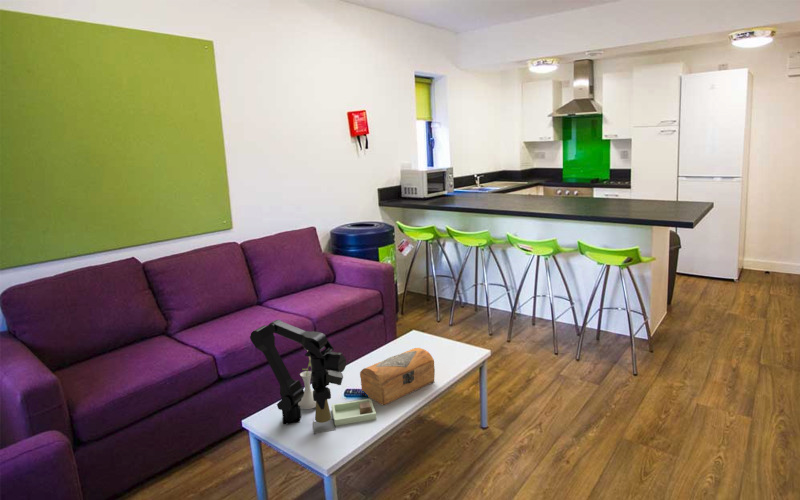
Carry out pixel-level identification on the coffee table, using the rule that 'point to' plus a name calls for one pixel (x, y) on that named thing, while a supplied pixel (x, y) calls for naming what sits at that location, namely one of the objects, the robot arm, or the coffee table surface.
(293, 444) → the coffee table surface
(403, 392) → the wooden box
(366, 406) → the walnut block
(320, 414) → the cork
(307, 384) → the flower in vase
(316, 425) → the pad
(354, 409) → the tray
